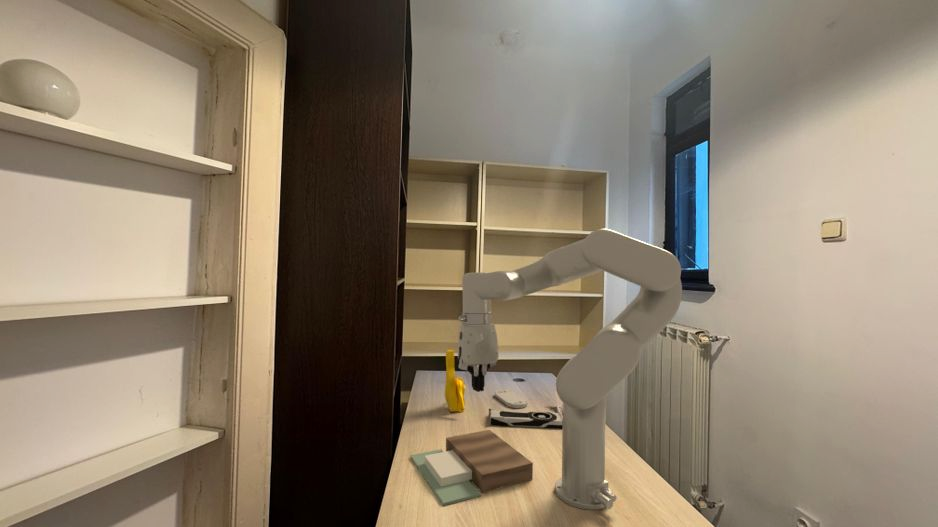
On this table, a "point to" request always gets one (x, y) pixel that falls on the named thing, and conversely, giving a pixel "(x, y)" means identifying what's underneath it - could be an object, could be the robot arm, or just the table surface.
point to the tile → (447, 468)
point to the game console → (511, 399)
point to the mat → (448, 492)
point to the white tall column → (559, 405)
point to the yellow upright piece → (453, 386)
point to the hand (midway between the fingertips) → (478, 390)
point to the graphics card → (525, 419)
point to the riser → (490, 460)
